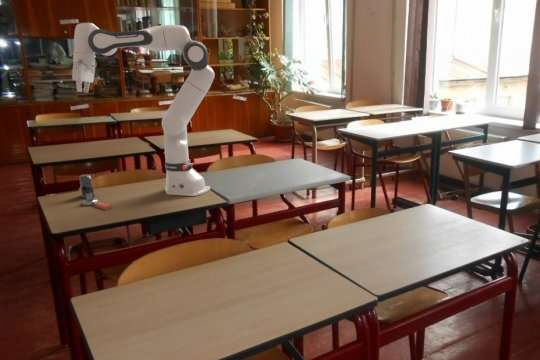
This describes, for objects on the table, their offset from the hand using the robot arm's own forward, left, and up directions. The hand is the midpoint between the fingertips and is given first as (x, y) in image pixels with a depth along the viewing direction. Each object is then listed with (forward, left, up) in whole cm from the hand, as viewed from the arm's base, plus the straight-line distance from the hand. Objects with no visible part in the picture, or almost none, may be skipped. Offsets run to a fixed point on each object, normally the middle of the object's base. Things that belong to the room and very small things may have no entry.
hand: (82, 92), depth 212 cm
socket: (+3, +2, -49) cm, 49 cm away
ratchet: (-11, +10, -49) cm, 51 cm away
